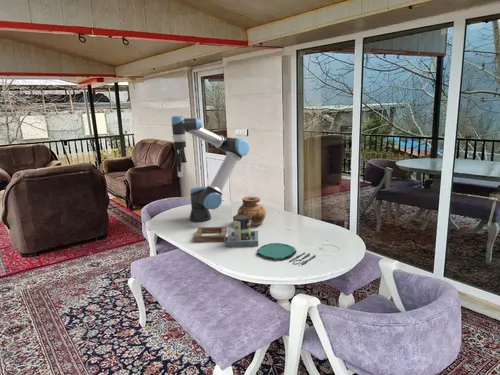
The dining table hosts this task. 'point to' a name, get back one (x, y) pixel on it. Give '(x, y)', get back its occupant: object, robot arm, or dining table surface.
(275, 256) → the cutlery set
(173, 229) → the dining table surface
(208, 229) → the wooden square frame
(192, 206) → the robot arm
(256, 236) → the tray
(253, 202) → the clay pot
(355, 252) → the dining table surface
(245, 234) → the coffee can
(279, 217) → the dining table surface
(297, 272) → the dining table surface
